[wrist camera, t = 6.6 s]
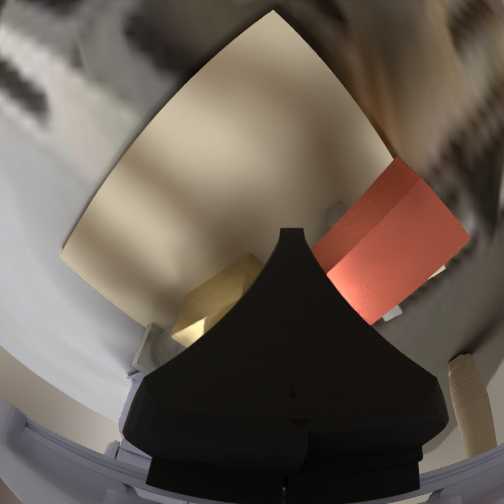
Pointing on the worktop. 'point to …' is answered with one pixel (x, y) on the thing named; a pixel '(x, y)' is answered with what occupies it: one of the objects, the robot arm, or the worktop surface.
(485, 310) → the worktop surface
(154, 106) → the worktop surface
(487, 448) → the handle
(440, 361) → the worktop surface
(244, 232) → the board
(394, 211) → the lever
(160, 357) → the valve
